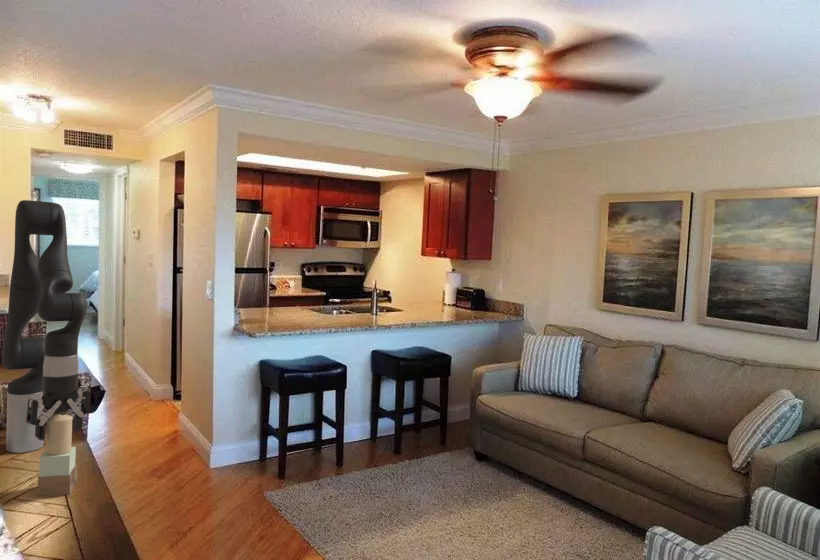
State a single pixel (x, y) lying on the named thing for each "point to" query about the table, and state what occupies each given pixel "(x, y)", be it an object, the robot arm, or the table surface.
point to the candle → (59, 433)
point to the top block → (57, 464)
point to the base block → (57, 484)
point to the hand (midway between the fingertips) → (59, 435)
